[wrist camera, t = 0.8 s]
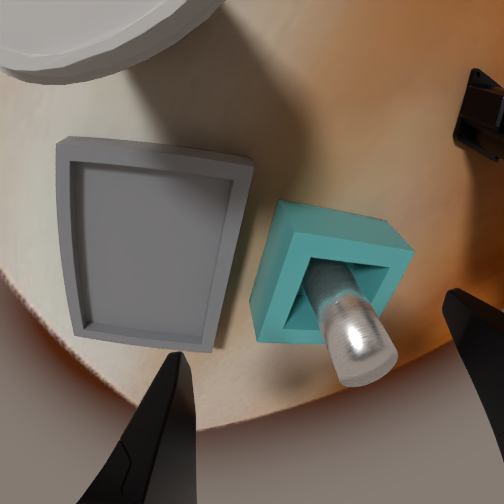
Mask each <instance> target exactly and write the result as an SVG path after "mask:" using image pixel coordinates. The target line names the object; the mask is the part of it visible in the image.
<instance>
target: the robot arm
mask: <svg viewBox="0 0 504 504" xmlns="http://www.w3.org/2000/svg"><path fill="white" fill-rule="evenodd" d="M476 73H477V76H476ZM459 134H460V136H459ZM454 138H455V139H456V140H458V141H460V142H461V143H463V144H465V145H467V146H469V147H471V148H472V149H474V150H476V151H478V152H479V153H481V154H483V155H484V156H486V157H488V158H489V159H491V160H493V161H495V162H498V161H499V159H500V158H501V159H503V160H504V89H503V88H502V87H501V86H500V85H499V84H497V83H496V82H495V81H494V80H492V79H491V78H490V77H489V76H487V75H486V74H485V73H484V72H482V71H481V70H480V69H477V68H473V69H472V70H471V74H470V78H469V82H468V86H467V90H466V93H465V97H464V101H463V104H462V108H461V111H460V114H459V118H458V121H457V124H456V127H455V130H454ZM442 313H443V316H444V318H445V320H446V323H447V325H448V328H449V330H450V333H451V335H452V338H453V340H454V343H455V345H456V348H457V350H458V352H459V354H460V356H461V358H462V360H463V362H464V365H465V367H466V369H467V370H468V373H469V375H470V377H471V379H472V382H473V384H474V386H475V388H476V391H477V393H478V395H479V397H480V400H481V402H482V404H483V407H484V409H485V412H486V414H487V416H488V419H489V422H490V424H491V427H492V429H493V432H494V435H495V437H496V441H497V443H498V446H499V449H500V452H501V455H502V458H503V461H504V313H503V312H502V311H500V310H498V309H496V308H494V307H493V306H491V305H489V304H487V303H485V302H484V301H482V300H480V299H478V298H476V297H474V296H472V295H471V294H469V293H467V292H465V291H463V290H461V289H459V288H454V289H451V290H448V291H447V293H446V296H445V299H444V303H443V306H442ZM196 494H197V493H196V412H195V402H194V393H193V384H192V374H191V369H190V366H189V364H188V362H187V360H186V358H185V356H184V354H183V353H182V352H172V353H169V354H168V356H167V357H166V359H165V361H164V363H163V364H162V366H161V368H160V370H159V371H158V373H157V375H156V376H155V378H154V380H153V382H152V383H151V385H150V387H149V389H148V390H147V392H146V394H145V396H144V397H143V399H142V401H141V403H140V404H139V406H138V408H137V410H136V411H135V413H134V415H133V417H132V418H131V420H130V422H129V424H128V426H127V427H126V429H125V431H124V433H123V434H122V436H121V438H120V440H119V441H118V443H117V445H116V447H115V448H114V450H113V452H112V453H111V455H110V457H109V459H108V460H107V462H106V463H105V465H104V466H103V468H102V469H101V471H100V472H99V474H98V475H97V476H96V478H95V479H94V480H93V482H92V483H91V485H90V486H89V487H88V489H87V490H86V492H85V493H84V494H83V496H82V497H81V498H80V500H79V501H78V502H77V503H76V504H197V495H196Z"/></svg>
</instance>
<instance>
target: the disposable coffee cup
mask: <svg viewBox="0 0 504 504" xmlns="http://www.w3.org/2000/svg"><path fill="white" fill-rule="evenodd" d="M224 1H225V0H0V71H2V72H3V73H5V74H6V75H8V76H11V77H14V78H16V79H19V80H22V81H25V82H29V83H36V84H43V85H66V84H72V83H79V82H86V81H90V80H94V79H98V78H102V77H105V76H108V75H111V74H114V73H117V72H120V71H123V70H125V69H127V68H130V67H132V66H134V65H136V64H138V63H141V62H143V61H145V60H147V59H149V58H151V57H153V56H154V55H156V54H158V53H159V52H161V51H163V50H165V49H166V48H168V47H170V46H172V45H173V44H175V43H176V42H178V41H179V40H181V39H182V38H183V37H184V36H186V35H187V34H188V33H190V32H191V31H192V30H194V29H195V28H196V27H198V26H199V25H200V24H202V23H203V22H204V21H206V20H207V19H208V18H209V17H210V16H211V15H212V14H213V12H214V11H215V10H216V9H217V8H218V7H219V6H220V5H221V4H222V3H223V2H224Z"/></svg>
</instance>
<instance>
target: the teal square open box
mask: <svg viewBox="0 0 504 504" xmlns="http://www.w3.org/2000/svg"><path fill="white" fill-rule="evenodd" d="M414 253H415V251H414V250H413V249H412V248H411V246H410V245H409V244H408V243H407V242H406V241H405V240H404V239H403V238H402V237H401V236H400V235H399V234H398V233H397V232H396V231H395V229H394V228H393V227H392V226H391V225H390V224H389V223H388V222H387V221H385V220H381V219H376V218H371V217H367V216H362V215H357V214H352V213H347V212H342V211H337V210H332V209H327V208H322V207H317V206H312V205H306V204H301V203H295V202H290V201H284V200H279V199H278V202H277V206H276V209H275V213H274V217H273V220H272V224H271V227H270V231H269V234H268V238H267V241H266V245H265V248H264V252H263V255H262V259H261V262H260V266H259V269H258V273H257V276H256V280H255V283H254V287H253V290H252V293H251V297H250V300H249V302H250V308H251V313H252V319H253V324H254V329H255V335H256V340H257V342H263V343H287V344H325V341H324V339H323V336H322V333H321V331H320V328H319V326H318V323H317V321H316V318H315V315H314V313H313V310H312V308H311V305H310V303H309V300H308V298H307V295H306V293H305V290H304V288H303V285H302V283H301V282H302V279H303V276H304V274H305V271H306V269H307V266H308V263H309V261H310V258H311V257H313V258H320V259H328V260H336V261H344V262H345V263H346V264H347V266H348V268H349V269H350V271H351V272H352V274H353V276H354V277H355V279H356V281H357V282H358V284H359V286H360V287H361V289H362V291H363V292H364V294H365V296H366V297H367V299H368V301H369V302H370V304H371V306H372V308H373V309H374V311H375V313H376V314H377V316H378V318H379V317H380V316H381V314H382V312H383V311H384V309H385V307H386V305H387V304H388V302H389V300H390V298H391V297H392V295H393V293H394V291H395V289H396V287H397V286H398V284H399V282H400V280H401V278H402V276H403V274H404V272H405V270H406V269H407V267H408V265H409V263H410V261H411V259H412V257H413V255H414Z"/></svg>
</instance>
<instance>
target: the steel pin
mask: <svg viewBox="0 0 504 504" xmlns="http://www.w3.org/2000/svg"><path fill="white" fill-rule="evenodd" d="M301 283H302V285H303V288H304V290H305V293H306V295H307V298H308V300H309V303H310V305H311V308H312V310H313V313H314V315H315V318H316V321H317V323H318V326H319V328H320V331H321V333H322V336H323V339H324V341H325V344H326V346H327V349H328V352H329V354H330V357H331V360H332V362H333V365H334V368H335V370H336V373H337V376H338V378H339V381H340V383H341V384H342V385H344V386H347V387H359V386H363V385H367V384H370V383H372V382H374V381H376V380H378V379H380V378H381V377H383V376H384V375H385V374H387V373H388V372H389V371H390V370H391V369H392V368H393V367H394V365H395V364H396V362H397V360H398V352H397V350H396V348H395V346H394V345H393V343H392V341H391V339H390V337H389V336H388V334H387V332H386V330H385V328H384V327H383V325H382V323H381V321H380V320H379V318H378V316H377V314H376V313H375V311H374V309H373V308H372V306H371V304H370V302H369V301H368V299H367V297H366V296H365V294H364V292H363V291H362V289H361V287H360V286H359V284H358V282H357V281H356V279H355V277H354V276H353V274H352V272H351V271H350V269H349V268H348V266H347V264H346V263H345V262H344V261H336V260H328V259H320V258H313V257H311V258H310V261H309V263H308V266H307V269H306V271H305V274H304V276H303V279H302V282H301Z"/></svg>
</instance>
